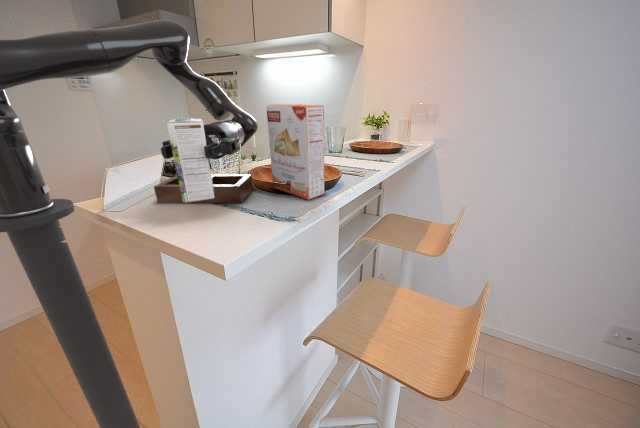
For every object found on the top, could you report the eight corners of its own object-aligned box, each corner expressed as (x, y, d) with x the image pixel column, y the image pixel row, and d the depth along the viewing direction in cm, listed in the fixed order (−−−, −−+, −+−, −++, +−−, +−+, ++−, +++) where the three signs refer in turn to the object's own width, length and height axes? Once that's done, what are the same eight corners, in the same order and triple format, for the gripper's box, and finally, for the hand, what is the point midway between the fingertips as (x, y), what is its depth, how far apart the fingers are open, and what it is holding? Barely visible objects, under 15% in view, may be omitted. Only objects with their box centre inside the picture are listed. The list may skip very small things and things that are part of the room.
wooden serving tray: (157, 203, 66) (153, 186, 65) (179, 189, 76) (176, 174, 75) (241, 203, 66) (239, 186, 64) (252, 189, 75) (251, 174, 74)
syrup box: (184, 194, 58) (167, 119, 52) (215, 190, 60) (202, 117, 54) (182, 203, 53) (164, 121, 47) (216, 198, 55) (202, 119, 49)
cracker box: (271, 189, 75) (264, 104, 67) (289, 184, 79) (284, 103, 71) (307, 201, 66) (304, 104, 58) (325, 195, 70) (325, 104, 62)
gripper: (185, 122, 65) (140, 131, 49) (247, 121, 64) (222, 130, 49) (191, 155, 68) (151, 173, 52) (251, 155, 67) (228, 173, 52)
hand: (185, 153), depth 51 cm, fingers closed on syrup box, 7 cm apart
